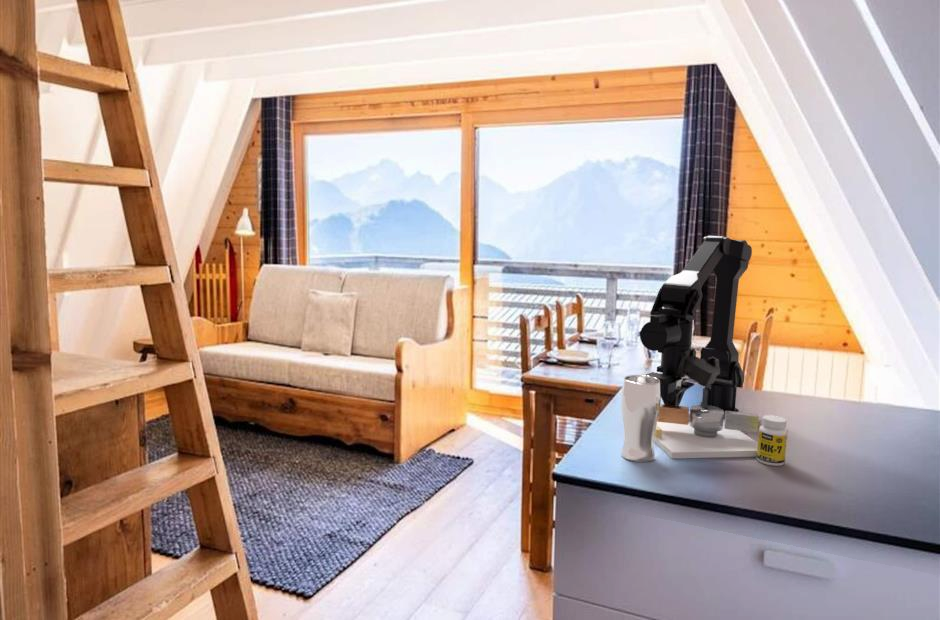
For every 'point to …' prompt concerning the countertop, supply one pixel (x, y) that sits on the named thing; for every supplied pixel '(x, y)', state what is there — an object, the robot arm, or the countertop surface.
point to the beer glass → (640, 416)
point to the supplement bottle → (772, 440)
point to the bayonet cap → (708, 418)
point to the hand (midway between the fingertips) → (672, 416)
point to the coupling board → (702, 442)
